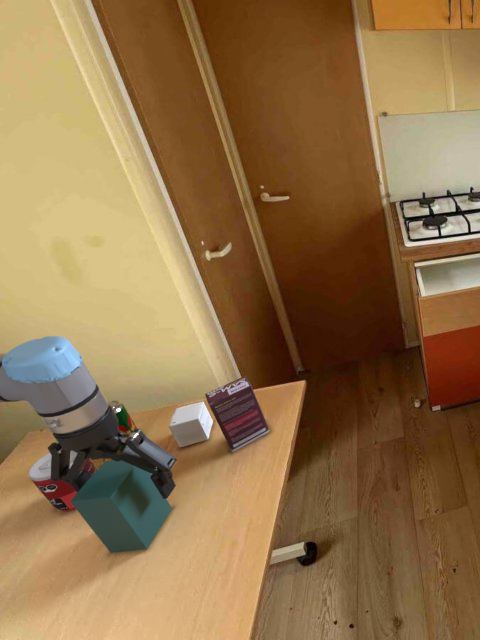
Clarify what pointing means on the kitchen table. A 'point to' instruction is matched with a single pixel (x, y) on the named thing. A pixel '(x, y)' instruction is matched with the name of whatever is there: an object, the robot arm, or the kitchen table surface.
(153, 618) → the kitchen table surface
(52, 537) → the kitchen table surface
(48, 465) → the canned food
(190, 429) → the product box
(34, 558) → the kitchen table surface
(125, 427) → the soda can
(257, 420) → the supplement box
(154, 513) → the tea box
